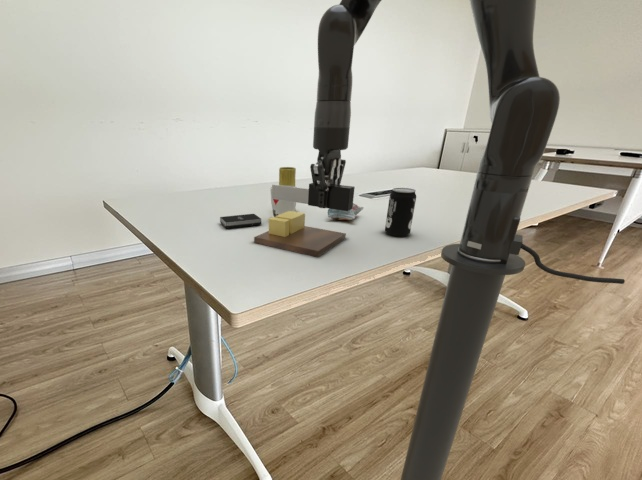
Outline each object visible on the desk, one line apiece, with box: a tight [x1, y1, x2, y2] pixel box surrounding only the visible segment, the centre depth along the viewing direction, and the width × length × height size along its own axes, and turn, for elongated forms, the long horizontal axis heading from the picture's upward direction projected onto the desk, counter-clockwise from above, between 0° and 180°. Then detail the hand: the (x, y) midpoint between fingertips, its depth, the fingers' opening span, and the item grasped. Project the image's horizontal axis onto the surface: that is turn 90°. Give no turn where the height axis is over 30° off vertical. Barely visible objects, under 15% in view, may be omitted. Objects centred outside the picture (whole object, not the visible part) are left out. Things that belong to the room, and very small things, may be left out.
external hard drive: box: [219, 213, 262, 229], centre depth 101 cm, size 7×11×2 cm, turn 113°
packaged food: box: [327, 202, 364, 221], centre depth 108 cm, size 9×12×5 cm
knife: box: [271, 182, 355, 211], centre depth 81 cm, size 21×3×5 cm, turn 57°
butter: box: [276, 211, 306, 234], centre depth 92 cm, size 5×7×4 cm
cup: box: [269, 185, 298, 218], centre depth 104 cm, size 8×8×10 cm
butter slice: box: [268, 216, 289, 237], centre depth 88 cm, size 5×2×4 cm, turn 57°
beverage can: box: [384, 187, 417, 238], centre depth 92 cm, size 7×7×12 cm
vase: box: [278, 166, 297, 212], centre depth 113 cm, size 6×6×14 cm
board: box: [253, 225, 347, 258], centre depth 88 cm, size 18×16×2 cm
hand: (326, 206), depth 80 cm, fingers closed on knife, 3 cm apart
